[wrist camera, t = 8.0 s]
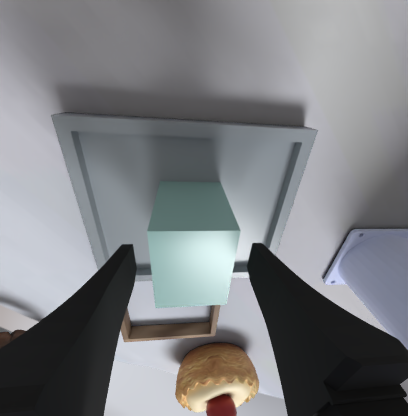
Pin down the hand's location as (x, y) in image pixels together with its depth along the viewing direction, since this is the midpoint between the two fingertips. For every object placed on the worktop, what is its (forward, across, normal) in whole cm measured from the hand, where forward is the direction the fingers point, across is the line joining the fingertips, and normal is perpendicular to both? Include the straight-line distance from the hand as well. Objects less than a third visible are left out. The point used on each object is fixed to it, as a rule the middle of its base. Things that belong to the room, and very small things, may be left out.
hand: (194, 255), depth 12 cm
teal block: (+5, 0, 0) cm, 5 cm away
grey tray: (+6, 0, 0) cm, 6 cm away
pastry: (+6, -5, +28) cm, 29 cm away
